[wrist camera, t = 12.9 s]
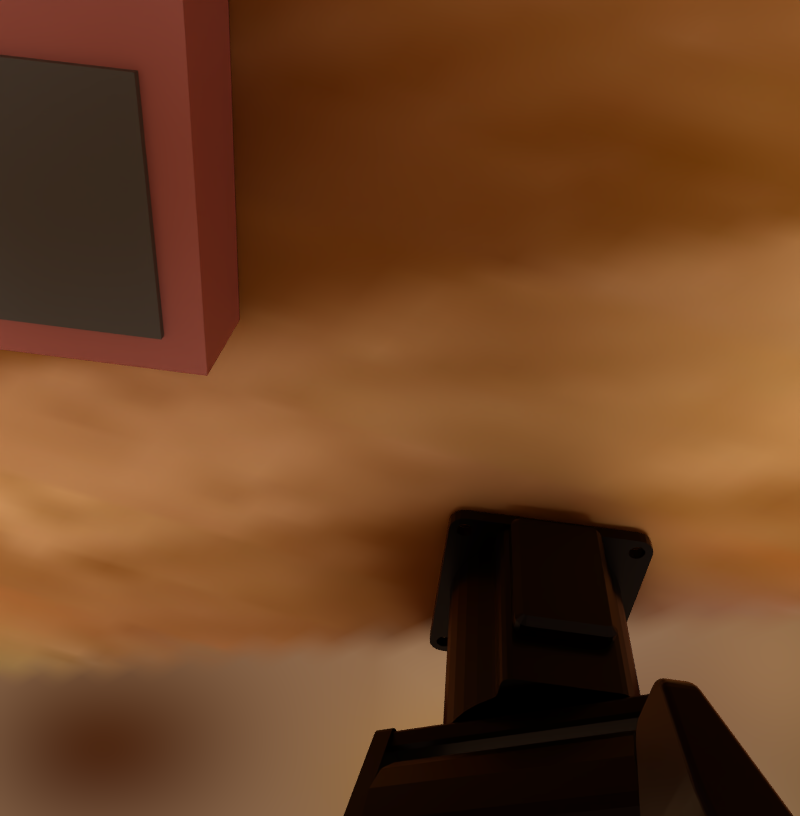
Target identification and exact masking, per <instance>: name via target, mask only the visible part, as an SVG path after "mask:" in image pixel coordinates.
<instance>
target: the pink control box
mask: <svg viewBox="0 0 800 816" xmlns="http://www.w3.org/2000/svg"><path fill="white" fill-rule="evenodd" d="M238 322H239V291H238V262H237V234H236V205H235V176H234V148H233V119H232V90H231V61H230V33H229V4H228V0H0V349H2V350H9V351H17V352H25V353H33V354H41V355H49V356H57V357H64V358H72V359H80V360H88V361H96V362H104V363H112V364H119V365H127V366H135V367H143V368H151V369H159V370H167V371H174V372H182V373H190V374H198V375H206V376H207V375H208V373H209V372H210V370H211V368H212V366H213V365H214V363H215V361H216V360H217V358H218V356H219V354H220V353H221V351H222V349H223V348H224V346H225V344H226V342H227V341H228V339H229V337H230V336H231V334H232V332H233V330H234V329H235V327H236V325H237V323H238Z"/></svg>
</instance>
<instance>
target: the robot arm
mask: <svg viewBox="0 0 800 816" xmlns="http://www.w3.org/2000/svg"><path fill="white" fill-rule="evenodd" d="M461 524H466V525H469V527H461V526H459V525H461ZM634 547H640V548H639V549H637V550H632V548H634ZM652 556H653V548H652V544H651V541H650V539H649V537H648V536H646V535H645V534H642V533H637V532H630V531H622V530H615V529H607V528H599V527H592V526H584V525H576V524H569V523H561V522H554V521H546V520H538V519H531V518H523V517H515V516H508V515H500V514H493V513H485V512H477V511H470V510H460V511H457V512H455V513H454V514H452V515H451V517H450V519H449V525H448V531H447V537H446V543H445V549H444V555H443V560H442V566H441V572H440V578H439V584H438V590H437V596H436V602H435V608H434V614H433V619H432V625H431V632H430V644H431V645H432V646H433V647H434V648H436V649H438V650H442V651H447V665H446V684H445V701H444V721H443V724H441V725H435V726H428V727H421V728H414V729H407V730H401V731H396V729H395V728H391V729H384V730H378V731H376V732H375V734H374V737H373V739H372V742H371V745H370V747H369V750H368V752H367V755H366V758H365V760H364V763H363V766H362V768H361V771H360V774H359V776H358V779H357V782H356V784H355V787H354V789H353V792H352V795H351V797H350V800H349V803H348V806H347V808H346V811H345V814H344V816H793V815H792V813H791V812H790V811H789V809H788V808H787V807H786V805H785V804H784V802H783V801H782V800H781V798H780V797H779V796H778V794H777V793H776V792H775V790H774V789H773V788H772V786H771V785H770V784H769V782H768V781H767V780H766V778H765V777H764V776H763V774H762V773H761V772H760V770H759V769H758V767H757V766H756V765H755V763H754V762H753V761H752V760H751V758H750V757H749V755H748V754H747V752H746V751H745V750H744V748H743V747H742V746H741V745H740V743H739V742H738V740H737V739H736V738H735V736H734V735H733V734H732V732H731V731H730V729H729V728H728V727H727V725H726V724H725V723H724V721H723V720H722V719H721V718H720V716H719V715H718V713H717V712H716V711H715V710H714V708H713V707H712V705H711V704H710V703H709V701H708V700H707V698H706V697H705V696H704V694H703V693H702V692H701V690H700V689H699V688H698V687H697V686H695V685H694V684H693V683H690V682H686V681H679V680H672V679H664V678H663V679H659V680H657V681H656V682H655V683H654V685H653V687H652V689H651V691H650V694H647V695H640V690H639V685H638V680H637V675H636V669H635V664H634V659H633V654H632V648H631V643H630V638H629V633H628V627H627V620H628V617H629V615H630V612H631V610H632V607H633V605H634V602H635V599H636V597H637V594H638V592H639V589H640V587H641V584H642V581H643V579H644V576H645V574H646V571H647V569H648V566H649V563H650V561H651V558H652Z"/></svg>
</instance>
